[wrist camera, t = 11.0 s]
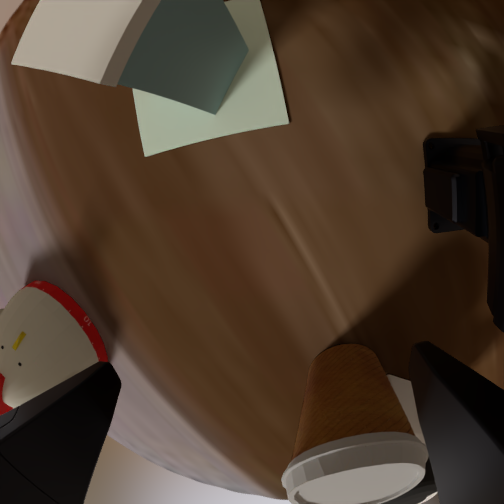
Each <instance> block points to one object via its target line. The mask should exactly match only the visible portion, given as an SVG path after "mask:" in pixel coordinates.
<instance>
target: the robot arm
mask: <svg viewBox="0 0 504 504" xmlns="http://www.w3.org/2000/svg"><path fill="white" fill-rule="evenodd" d="M476 132H477V136H478V139H471V138H431V139H426V140H424V142H423V151H424V160H425V169H424V171H423V174H424V187H425V205H426V207H427V208H428V227H429V229H430V231H432V232H433V233H441V232H448V231H455V230H463V229H465V230H467V231H469V232H470V233H472V234H473V235H475V236H477V237H480V238H481V239H483V240H484V241H486V242H488V244H489V260H488V286H487V304H488V306H489V308H490V310H491V313H492V315H493V316H494V318H493V322H494V324H495V325H496V326H497V327H498V328H499V329H500V330H501V331H502V332H504V125H501V126H493V127H486V128H480V129H476ZM429 143H431V144H432V148H431V149H430V148H429V146H428V145H429ZM435 223H437V226H436V228H434V227H433V226H434V224H435ZM409 376H410V380H411V385H412V389H413V394H414V399H415V404H416V409H417V414H418V419H419V423H420V427H421V430H422V433H423V437H424V440H425V444H426V447H427V451H428V455H429V458H430V462H431V466H432V470H433V474H434V479H435V483H436V487H437V492H438V496H439V502H440V504H504V390H503V389H501V388H500V387H498V386H497V385H495V384H494V383H492V382H491V381H489V380H488V379H486V378H485V377H483V376H482V375H480V374H479V373H477V372H475V371H474V370H472V369H471V368H469V367H468V366H466V365H465V364H463V363H462V362H460V361H458V360H457V359H455V358H454V357H452V356H451V355H449V354H448V353H446V352H444V351H443V350H441V349H440V348H438V347H437V346H435V345H433V344H432V343H430V342H429V341H423V342H418V343H415V344H414V345H413V346H412V351H411V357H410V362H409ZM120 389H121V380H120V378H119V376H118V375H117V373H116V371H115V369H114V368H113V366H112V364H111V363H109V362H104V361H99V362H97V363H95V364H93V365H91V366H90V367H88V368H86V369H84V370H83V371H81V372H79V373H77V374H75V375H74V376H72V377H70V378H68V379H67V380H65V381H63V382H61V383H59V384H58V385H56V386H54V387H52V388H50V389H49V390H47V391H45V392H43V393H41V394H40V395H38V396H36V397H34V398H32V399H30V400H29V401H27V402H25V403H23V404H21V405H20V406H18V407H16V408H14V409H12V410H10V411H8V412H6V413H4V414H2V415H0V504H84V500H85V497H86V494H87V491H88V487H89V484H90V481H91V478H92V475H93V472H94V469H95V466H96V463H97V461H98V457H99V455H100V452H101V449H102V446H103V444H104V441H105V438H106V435H107V433H108V430H109V427H110V424H111V421H112V418H113V414H114V410H115V407H116V403H117V400H118V396H119V393H120Z"/></svg>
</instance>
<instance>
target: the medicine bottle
mask: <svg viewBox="0 0 504 504" xmlns="http://www.w3.org/2000/svg"><path fill="white" fill-rule="evenodd" d="M386 376H387V377H388V379H389V380H388V381H390V383H391V386H392V387H393V389H394V391H395V393H396V395H397V397H398V399H399V402H400V404H401V405H402V408H403V410H404V412H405V414H406V416H407V418H408V421H409V422H410V424H411V427H412V429H413V431H414V434H415V436H416V437H417V438H418V439H419V440H420V441H421V442H422V443H424V444H425V440H424V437H423V433H422V430H421V427H420V423H419V419H418V414H417V409H416V404H415V399H414V394H413V389H412V385H411V381H409V380H405V379H402V378H399V377H396V376H393V375H389V374H388V375H386ZM425 446H426V444H425ZM437 493H438V492H437V487H436V483H435V479H434V474H433V470H432V466H431V462H430V458H429V457H428V460H427V462H426V466H425V475H424V478H423V479H422V480H421V481H420V483H418V484H417V485H416V486H415V487H414V488H412V489H411V490H409V491H408V492H406V493H404V494H402V495H400V496H398V497H396V498H394V499H392V500H389V501H387V502H384V503H381V504H421V503H423V502H425V501H427V500H429V499H430V498H432V497H433V496H434V495H436V494H437Z"/></svg>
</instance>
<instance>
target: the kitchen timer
mask: <svg viewBox="0 0 504 504" xmlns="http://www.w3.org/2000/svg"><path fill="white" fill-rule="evenodd" d="M99 361H104V362H108V357H107V353H106V350H105V346H104V343H103V341H102V339H101V337H100V335H99V333H98V331H97V329H96V327H95V326H94V324H93V323H92V322H91V320H90V319H89V317H88V316H87V315H86V313H85V312H84V310H83V309H82V308H81V307H80V306H79V305H78V304H77V303H76V302H75V301H74V300H73V299H72V298H71V297H70V296H69V295H68V294H66V293H65V292H64V291H62V290H61V289H60V288H59V287H57V286H55V285H53V284H50V283H48V282H46V281H34V282H32V283H30V284H28V285H27V286H25V287H24V288H22V289H21V290H19V291H18V292H17V293H16V294H15V295H14V296H13V297H12V298H11V300H10V301H9V302H8V304H7V305H6V307H5V309H0V415H2V414H4V413H6V412H8V411H10V410H12V409H13V408H16V407H18V406H20V405H21V404H23V403H25V402H27V401H29V400H30V399H32V398H34V397H36V396H38V395H40V394H41V393H43V392H45V391H47V390H49V389H50V388H52V387H54V386H56V385H58V384H59V383H61V382H63V381H65V380H67V379H68V378H70V377H72V376H74V375H75V374H77V373H79V372H81V371H83V370H84V369H86V368H88V367H90V366H91V365H93V364H95V363H97V362H99Z"/></svg>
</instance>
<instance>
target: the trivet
mask: <svg viewBox="0 0 504 504" xmlns="http://www.w3.org/2000/svg"><path fill="white" fill-rule="evenodd" d="M224 3H225V5H226V7H227V8H228V10H229V12H230V14H231V16H232V18H233V20H234V21H235V23H236V25H237V27H238V29H239V31H240V33H241V35H242V37H243V39H244V41H245V43H246V45H247V47H248V49H249V51H248V53H247V55H246V56H245V58H244V60H243V62H242V64H241V66H240V67H239V69H238V71H237V73H236V75H235V77H234V79H233V81H232V83H231V85H230V86H229V88H228V90H227V92H226V94H225V96H224V98H223V100H222V102H221V104H220V106H219V108H218V110H217V113H216V115H214V114H211V113H208V112H206V111H203V110H200V109H197V108H194V107H192V106H189V105H186V104H183V103H180V102H177V101H174V100H171V99H168V98H165V97H161V96H158V95H155V94H151V93H148V92H145V91H141V90H138V89H134V88H133V95H134V101H135V107H136V113H137V119H138V124H139V130H140V135H141V140H142V145H143V150H144V155H145V157H147V156H150V155H153V154H157V153H160V152H163V151H167V150H170V149H174V148H178V147H181V146H185V145H189V144H193V143H197V142H201V141H205V140H209V139H213V138H217V137H222V136H226V135H231V134H235V133H240V132H245V131H250V130H255V129H261V128H266V127H272V126H278V125H284V124H289V120H288V115H287V111H286V106H285V101H284V96H283V91H282V87H281V82H280V78H279V73H278V69H277V65H276V61H275V56H274V52H273V48H272V44H271V40H270V36H269V32H268V28H267V25H266V21H265V17H264V13H263V10H262V6H261V3H260V0H230V1H226V2H224Z"/></svg>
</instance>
